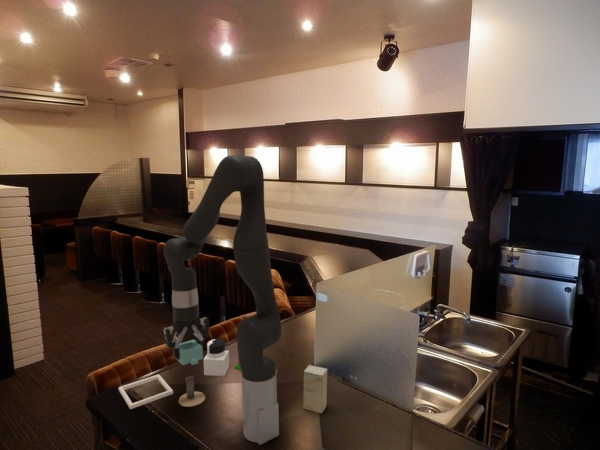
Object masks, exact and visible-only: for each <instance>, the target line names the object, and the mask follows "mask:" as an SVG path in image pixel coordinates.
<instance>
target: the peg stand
mask: <svg viewBox="0 0 600 450" xmlns="http://www.w3.org/2000/svg"><path fill="white" fill-rule="evenodd" d="M194 379H195V375H194V374H192V375H189V376H186V377H185V378H184V380H185V383H186V393H184V394H182V395H181V396H180V397H179V399H178V404H179V405H180V406H182V407H187V408H191V407H195V406H198V405H200V404H202V403H203V402H204V401H205V399H206V395H205V394H204V393H203V392H201V391H195V383H194Z"/></svg>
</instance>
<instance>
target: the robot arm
mask: <svg viewBox="0 0 600 450" xmlns="http://www.w3.org/2000/svg"><path fill="white" fill-rule="evenodd" d="M234 192H235V193H237V192H239V195H240V205H241V208H240V209H241V210H240V218H239V220H238V223H237V226H236V229H235V233H234V237H233V244H232V246H233V247H232V248H233V254H234V255H233V256H234V257H233V258H234V263H235V268H236V270H237V273H238V275H239V276H240V277H241V278H242V280H243V282H244V283H245V284H246V285H247V287H248V288H249V290H250V291H251V293H252V295H253V298H254V303H255V311H256V312H255V313H256V314H253V315H252V316H249V317H247V318H246V317H245V318H244V319H242V320H240V322H239V323H238V325H237V326H236V327H237V328H236V347H237V358H238V364H240V367H241V370H242V372H241V387H242V388H241V392H242V393H241V395H242V397H241V398H242V423H243V425H242V428H243V436H244V438H245V439H246V440H247V441H249V442H252V443H257V444H258V445H259V446H262V444H266V443H267V442H268V441H270V440H272V439H275V438H276V437H279V436H280V426H279V424H280V420H279V419H280V418H279V416H280V415H279V414H280V413H279V409H280V408H279V402H278V400H277V394H278V393H277V374H276V367H277V364H276V362H275V360H274V359H273V358H271V357H269V356H266V355H264V350H266V349H268V348H270V347H272V346H274V345H276V344H277V343H278V342H279V341H280V340H281V337H282V323H281V317H280V312H279V308H278V303H277V300H276V294H275V288H274V281H273V274H272V266H271V265H272V264H271V255H270V254H271V253H270V246H269V239H268V232H267V222H266V221H267V220H266V211H265V180H264V169H263V167H262V165H261V163H260V161H259V159H257V158H256V157H254V156H251V155H250V156H249V155H238V154H237V155H235V154H233V155H232V154H231V155H227V156H226V157H225V156H224V157H223V158H222V160H221V161H220V162H219V163H218V165H217V167H216V169H215V171H214V173H213V175H212V177H211V180H210V182H209V183H208V185H207V187H206V189H205V192H204V194H203V196H202V198H201V200H200V202H199V204H198V206H197V207H196V209H195V210H194V211H193V213H192V214H191V216H190V217H189V219H188V220H186V222H185V224H184V225H183V228H182V235H183V236H181V237H175V238H170V239H168V240H167V241H166V243H165V244H164V245H163V246H164V247H163V257H164V258H165V262H166V265H167V268H168V271H169V273H170V276H171V288H172V289H171V291H172V292H171V293H172V294H171V304H172V316H173V317H172V319H173V323H172V325H171V326H168V327H167V326H164V327H163V328H162V331H163V337H164V343H165V346H166V347H168V348H169V349H172V357H173V358H174V359H175V360H176V361H178V360H179V359H180V355H179V345H180V343H182V341H183V339H184V338H186V337H188V336H192V335H193V336H195V337H196V339H195V341H196V342H197V343H198V344H200V345H201V346H202V350H204V340H205V339H207V338H208V337H210V335H209V334H210V333H209V331H210V319H209V318H208V317H206V316H203V317H202V318H200V308H199V304H200V303H199V294H198V287H197V273H196V270H195V269H194V268H192V267H191V266H190V267H186V266H185V262H184V261H188V260H193V259H194V258H196V257H198V256H199V254H200V253H201V252H202V250H203V247H204V244H205V241H206V239H207V238H208V236H209V235H210V234H211V233H212V231H213V230H214V229H215V227H216V225H217V224H218V221H219V219H220V212H221V207H222V206H223V203H224V202H225V201H226V200H227V199H228V198H229V197H230V196H231V195H232V194H233V193H234ZM200 325H202V326H201V332H200V330H199V329H198V328H199V327H200ZM173 331H174V333H175V334H174V336H173V339H172V334H173Z"/></svg>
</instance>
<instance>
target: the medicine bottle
mask: <svg viewBox="0 0 600 450" xmlns="http://www.w3.org/2000/svg"><path fill="white" fill-rule="evenodd" d="M225 345H226V341H224V340H223V339H222V338H221V339H220V338H214V339H211V340H209V341H208V342H207V343H206V348H207V351H206V352H207V354H205V356H204V357H203V359H202V360H203V375H204V376H212V377H213V376H215V377H218V376H219V377H224V376H225V375H226V373H227V372H228V370H229V368H230V351H229V350H226V346H225Z"/></svg>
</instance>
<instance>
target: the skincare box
mask: <svg viewBox="0 0 600 450" xmlns="http://www.w3.org/2000/svg"><path fill="white" fill-rule="evenodd" d="M327 391H328V368H325V367H321V366H316V365H312V364H308V366H307V367H306V368H304V371H303V401H302V402H303V403H302V404H303V407H302V408H303V409H304V410H308V411H311V412H314V413H319V414H323V412H324V411H325V409H326V408H327V397H328V394H327V393H328V392H327Z"/></svg>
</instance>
